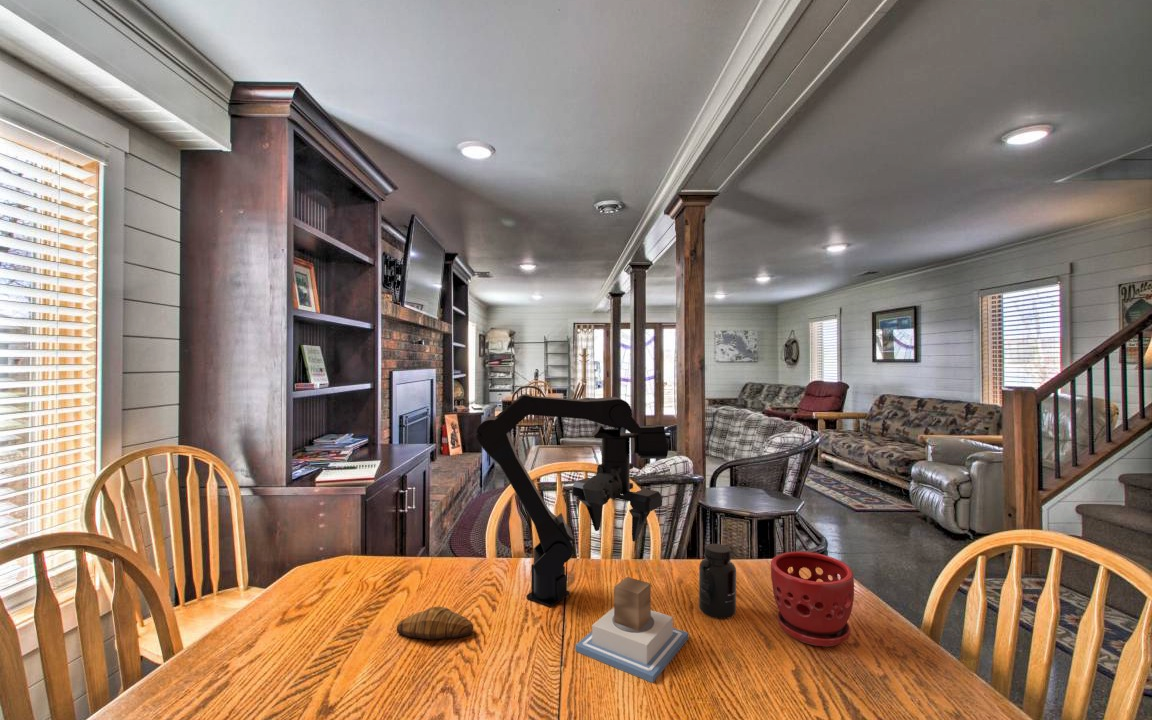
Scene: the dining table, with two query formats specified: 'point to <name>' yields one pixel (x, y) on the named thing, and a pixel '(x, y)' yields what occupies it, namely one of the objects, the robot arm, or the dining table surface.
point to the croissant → (435, 625)
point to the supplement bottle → (717, 582)
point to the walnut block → (632, 603)
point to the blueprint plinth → (630, 667)
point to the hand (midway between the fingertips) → (615, 535)
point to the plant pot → (813, 597)
